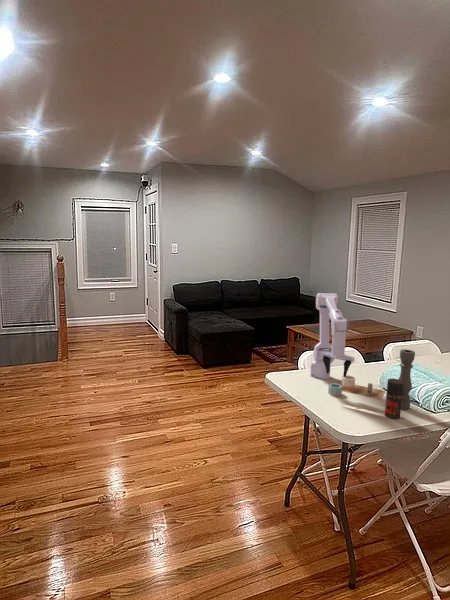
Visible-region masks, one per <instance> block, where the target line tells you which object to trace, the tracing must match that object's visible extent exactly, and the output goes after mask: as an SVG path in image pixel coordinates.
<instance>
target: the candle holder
mask: <svg viewBox="0 0 450 600" xmlns="http://www.w3.org/2000/svg"><path fill="white" fill-rule="evenodd" d="M415 357H416V352H415V350H412V349H400V353H399V360H400V362H401V363H399V366H400V375H399V377H398V378H397V379H398V380H401V381H403V382H404V384H403V394H402V404H401V411H409V410H410V409H411V403H412V402H411V401H412V400H411V396H410V392H411V391H412V388H413V385H412V378H411V371H412V369H413V368H414V365H413V363H414V360H415Z"/></svg>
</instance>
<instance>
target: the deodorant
mask: <svg viewBox="0 0 450 600" xmlns="http://www.w3.org/2000/svg"><path fill="white" fill-rule="evenodd" d="M398 379H399V378H388V379H387V384H386V397H385V405H384V408H385V409H384V416H385V418H387V419H391V420H399V419H401V413H402V410H401V404H402V394H403V384H404V382H403V381H401V380H398Z"/></svg>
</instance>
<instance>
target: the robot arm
mask: <svg viewBox="0 0 450 600" xmlns="http://www.w3.org/2000/svg"><path fill="white" fill-rule="evenodd" d="M338 303H339V297H338V294H337V293H336V292H335V293H333V292H332V293H325V292H324V293H323V292H322V293H321V292H318V293H317V294H316V296H315V309H317V310H318V311H319V342H318V343H316V344H314V346H313V355H312V357H313V360H312V361H311V364H310V375H309V376H310V378H311V377H313V378H317V379H321V380H327V379H330V378H331V365H332V363H333V362H334V361H335V360H339V361H344V362H343V373H342V374H343V375H342V377H346V375H347V373H348V370H349V368H350V366H351V365H352V363H354V362H355V359H356V358H355V357H354V356H350V355H347V354H345V353H346V351H345V350H346V349H345V348H346V339H347V338H346V337H347V333H348V332H349V320H348V319H347V318H346V317H345V318H344V316H343V313H342V311H341V310H340V309H338V306H337V305H338ZM330 321H331V326H330ZM330 327H331V336H332V338H331V343H330Z"/></svg>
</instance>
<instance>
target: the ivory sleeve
mask: <svg viewBox="0 0 450 600" xmlns="http://www.w3.org/2000/svg"><path fill="white" fill-rule="evenodd" d="M341 382H342V388H343V389H347V390H353V389H354V388H355V385H356V377H355V376H352V375H347V374H346V377H343V376H342V377H341Z"/></svg>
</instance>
